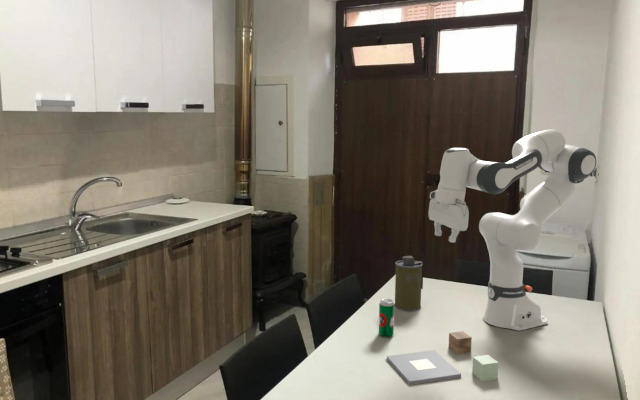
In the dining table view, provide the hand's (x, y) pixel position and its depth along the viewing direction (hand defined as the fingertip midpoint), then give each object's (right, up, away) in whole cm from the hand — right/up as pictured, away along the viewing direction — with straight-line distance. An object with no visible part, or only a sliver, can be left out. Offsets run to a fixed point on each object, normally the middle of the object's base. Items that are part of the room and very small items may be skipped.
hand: (444, 238), depth 171 cm
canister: (-7, -29, +33) cm, 44 cm away
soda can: (-19, -33, +6) cm, 39 cm away
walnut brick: (+3, -35, -6) cm, 36 cm away
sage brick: (+6, -38, -23) cm, 44 cm away
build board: (-11, -37, -18) cm, 42 cm away
